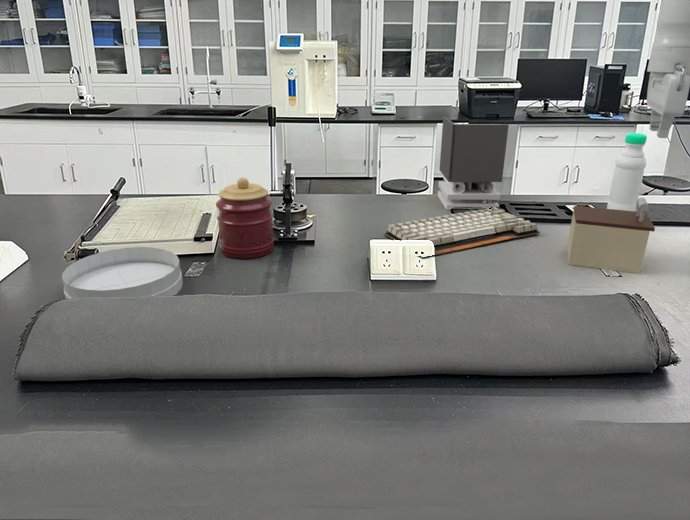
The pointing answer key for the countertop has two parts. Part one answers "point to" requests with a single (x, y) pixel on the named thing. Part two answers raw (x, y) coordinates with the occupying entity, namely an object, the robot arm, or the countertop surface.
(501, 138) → the electrical transformer
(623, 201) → the water bottle
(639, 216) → the lid
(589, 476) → the countertop surface
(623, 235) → the box
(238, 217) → the kitchen canister
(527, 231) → the mechanical keyboard
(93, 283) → the dish
